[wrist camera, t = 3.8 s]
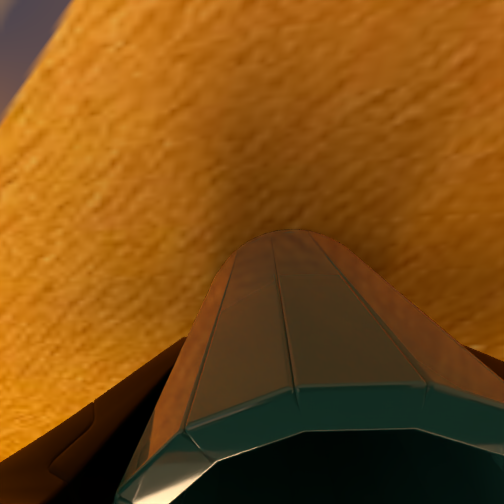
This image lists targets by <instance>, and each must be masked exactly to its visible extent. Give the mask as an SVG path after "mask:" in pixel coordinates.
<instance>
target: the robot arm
mask: <svg viewBox="0 0 504 504" xmlns="http://www.w3.org/2000/svg"><path fill="white" fill-rule="evenodd" d="M186 338H187V337H183V338H181V339H180V340H178V341H177V342H176V343H174V344H173V345H171V346H170V347H169V348H167V349H166V350H164V351H163V352H162V353H160V354H159V355H157V356H156V357H155V358H153V359H152V360H150V361H149V362H148V363H146V364H145V365H143V366H142V367H141V368H139V369H138V370H136V371H135V372H133V373H132V374H131V375H129V376H128V377H126V378H125V379H124V380H122V381H121V382H119V383H118V384H117V385H115V386H114V387H112V388H111V389H110V390H108V391H107V392H105V393H104V394H103V395H101V396H100V397H98V398H97V399H96V400H94V402H91V403H90V404H88V405H87V406H86V407H84V408H83V409H81V410H80V411H79V412H77V413H76V414H74V415H73V416H71V417H70V418H68V419H67V420H66V421H64V422H63V423H61V424H60V425H58V426H57V427H55V428H54V429H52V430H51V431H49V432H47V433H46V434H44V435H43V436H41V437H40V438H38V439H37V440H35V441H33V442H32V443H30V444H29V445H27V446H26V447H24V448H22V449H21V450H19V451H18V452H16V453H14V454H13V455H11V456H10V457H8V458H6V459H5V460H3V461H2V462H0V504H112V503H113V500H114V496H115V492H116V490H117V488H118V486H119V484H120V482H121V479H122V477H123V475H124V473H125V471H126V469H127V466H128V464H129V462H130V460H131V458H132V456H133V453H134V451H135V449H136V447H137V445H138V443H139V440H140V438H141V436H142V434H143V432H144V430H145V427H146V425H147V423H148V421H149V419H150V417H151V414H152V412H153V410H154V408H155V406H156V403H157V401H158V399H159V397H160V395H161V393H162V390H163V388H164V386H165V384H166V382H167V380H168V377H169V375H170V373H171V371H172V369H173V367H174V364H175V362H176V360H177V358H178V356H179V354H180V351H181V349H182V347H183V345H184V343H185V341H186ZM461 345H462V344H461ZM462 346H464V345H462ZM464 347H465V348H466V349H467V350H468V351H469V352H471V353H472V354H473V355H474V356H475V357H477V358H478V359H479V360H480V361H481V362H482V363H484V364H485V365H486V366H487V367H488V368H490V369H491V370H492V371H493V372H494V373H495V374H497V375H498V376H499V377H500V378H501V379H503V380H504V362H503V361H501V360H499V359H496V358H494V357H491V356H489V355H486V354H484V353H481V352H479V351H477V350H474V349H472V348H469V347H467V346H464Z"/></svg>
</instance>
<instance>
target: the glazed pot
mask: <svg viewBox="0 0 504 504" xmlns="http://www.w3.org/2000/svg"><path fill="white" fill-rule="evenodd" d="M112 504H504V380H503V379H501V378H500V377H499V376H498V375H497V374H495V373H494V372H493V371H492V370H491V369H490V368H488V367H487V366H486V365H485V364H484V363H482V362H481V361H480V360H479V359H478V358H477V357H475V356H474V355H473V354H472V353H471V352H469V351H468V350H467V349H466V348H465V347H464V346H462V345H461V344H460V343H459V342H458V341H456V340H455V339H454V338H453V337H452V336H451V335H449V334H448V333H447V332H446V331H445V330H443V329H442V328H441V327H440V326H439V325H438V324H436V323H435V322H434V321H433V320H432V319H430V318H429V317H428V316H427V315H426V314H425V313H423V312H422V311H421V310H420V309H419V308H417V307H416V306H415V305H414V304H413V303H412V302H410V301H409V300H408V299H407V298H406V297H404V296H403V295H402V294H401V293H400V292H399V291H397V290H396V289H395V288H394V287H393V286H391V285H390V284H389V283H388V282H387V281H386V280H384V279H383V278H382V277H381V276H380V275H378V274H377V273H376V272H375V271H374V270H373V269H371V268H370V267H369V266H368V265H367V264H365V263H364V262H363V261H362V260H361V259H360V258H358V257H357V256H356V255H355V254H354V253H352V252H351V251H350V250H349V249H348V248H347V247H345V246H344V245H343V244H341V243H340V242H337V241H335V240H334V239H332V238H330V237H327V236H325V235H323V234H320V233H316V232H312V231H307V230H299V229H287V230H279V231H274V232H270V233H266V234H263V235H261V236H258V237H256V238H254V239H252V240H250V241H248V242H246V243H245V244H243V245H242V246H241V247H239V248H238V249H237V250H236V251H235V252H234V253H233V254H232V255H231V256H230V257H229V258H228V259H227V260H226V261H225V263H224V264H223V265H222V267H221V269H220V270H219V271H218V273H217V274H216V276H215V278H214V280H213V282H212V284H211V286H210V289H209V291H208V293H207V295H206V297H205V299H204V302H203V304H202V306H201V308H200V310H199V312H198V315H197V317H196V319H195V321H194V323H193V325H192V328H191V330H190V332H189V334H188V336H187V338H186V341H185V343H184V345H183V347H182V349H181V351H180V354H179V356H178V358H177V360H176V362H175V364H174V367H173V369H172V371H171V373H170V375H169V377H168V380H167V382H166V384H165V386H164V388H163V390H162V393H161V395H160V397H159V399H158V401H157V403H156V406H155V408H154V410H153V412H152V414H151V417H150V419H149V421H148V423H147V425H146V427H145V430H144V432H143V434H142V436H141V438H140V440H139V443H138V445H137V447H136V449H135V451H134V453H133V456H132V458H131V460H130V462H129V464H128V466H127V469H126V471H125V473H124V475H123V477H122V479H121V482H120V484H119V486H118V488H117V490H116V492H115V496H114V500H113V503H112Z"/></svg>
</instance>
